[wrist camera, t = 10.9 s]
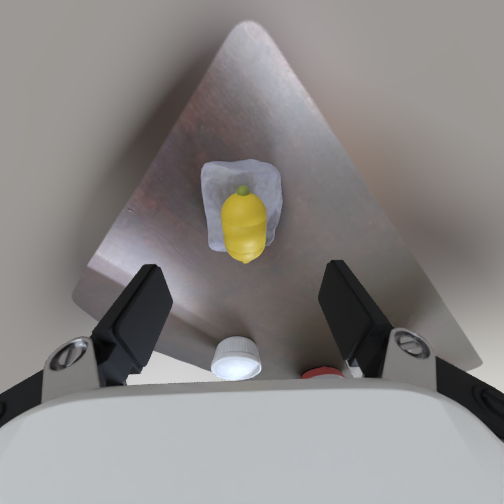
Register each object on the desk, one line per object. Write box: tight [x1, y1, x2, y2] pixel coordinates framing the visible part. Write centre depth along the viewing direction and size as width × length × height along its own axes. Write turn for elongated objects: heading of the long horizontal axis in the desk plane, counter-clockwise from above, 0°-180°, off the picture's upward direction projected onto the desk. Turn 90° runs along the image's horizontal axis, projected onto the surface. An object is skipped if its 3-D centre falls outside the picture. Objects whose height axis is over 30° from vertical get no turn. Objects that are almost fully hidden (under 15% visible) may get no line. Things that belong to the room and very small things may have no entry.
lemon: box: [221, 185, 267, 264], centre depth 20 cm, size 10×5×5 cm, turn 1°
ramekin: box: [211, 336, 261, 380], centre depth 42 cm, size 11×11×5 cm
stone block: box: [201, 159, 283, 252], centre depth 24 cm, size 12×5×10 cm
